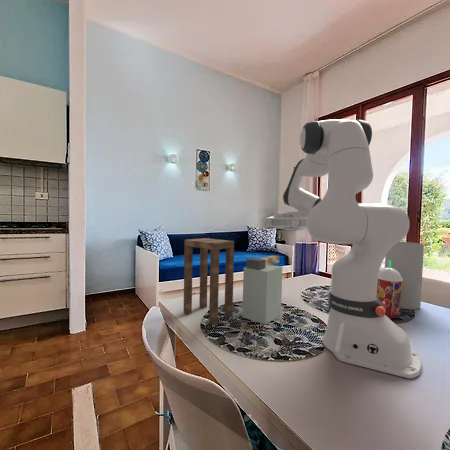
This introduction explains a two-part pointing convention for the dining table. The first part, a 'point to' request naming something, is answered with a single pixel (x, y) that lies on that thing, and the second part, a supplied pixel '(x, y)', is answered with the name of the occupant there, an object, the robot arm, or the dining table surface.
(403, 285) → the cylinder vase
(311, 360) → the dining table surface
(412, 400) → the dining table surface
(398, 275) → the smoothie
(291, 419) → the dining table surface
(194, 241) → the plant stand
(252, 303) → the pale green block
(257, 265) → the mallet
